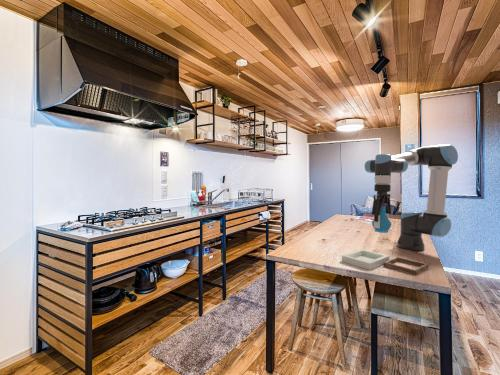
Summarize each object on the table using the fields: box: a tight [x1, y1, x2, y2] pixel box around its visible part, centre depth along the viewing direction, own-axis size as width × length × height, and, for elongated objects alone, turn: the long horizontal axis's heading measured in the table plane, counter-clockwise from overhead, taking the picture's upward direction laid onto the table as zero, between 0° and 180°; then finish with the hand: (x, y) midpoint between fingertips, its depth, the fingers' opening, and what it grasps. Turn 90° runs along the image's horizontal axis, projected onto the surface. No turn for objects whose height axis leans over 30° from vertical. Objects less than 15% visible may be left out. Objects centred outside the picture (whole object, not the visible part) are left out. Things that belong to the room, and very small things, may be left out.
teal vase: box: [371, 203, 392, 234], centre depth 137 cm, size 9×9×15 cm
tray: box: [341, 248, 391, 271], centre depth 142 cm, size 20×16×3 cm
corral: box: [383, 256, 429, 276], centre depth 133 cm, size 15×15×2 cm
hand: (381, 226), depth 137 cm, fingers closed on teal vase, 9 cm apart
